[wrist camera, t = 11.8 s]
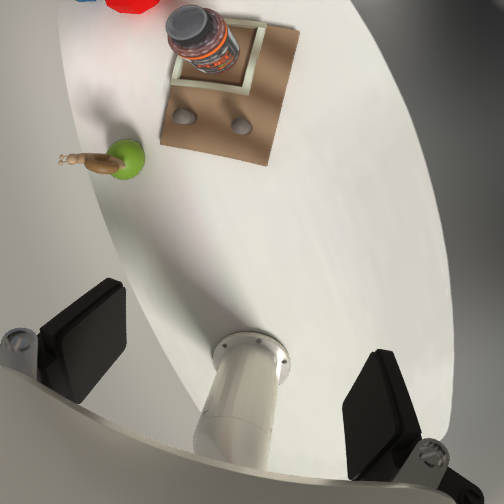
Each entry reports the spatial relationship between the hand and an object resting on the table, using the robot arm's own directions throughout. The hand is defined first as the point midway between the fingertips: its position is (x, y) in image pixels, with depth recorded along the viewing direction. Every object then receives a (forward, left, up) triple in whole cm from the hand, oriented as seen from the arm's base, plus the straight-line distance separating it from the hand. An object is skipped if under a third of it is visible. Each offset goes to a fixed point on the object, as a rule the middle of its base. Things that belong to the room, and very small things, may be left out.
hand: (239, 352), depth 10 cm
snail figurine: (+1, +22, -29) cm, 36 cm away
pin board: (+13, +10, -28) cm, 33 cm away
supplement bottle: (+17, +12, -27) cm, 34 cm away
